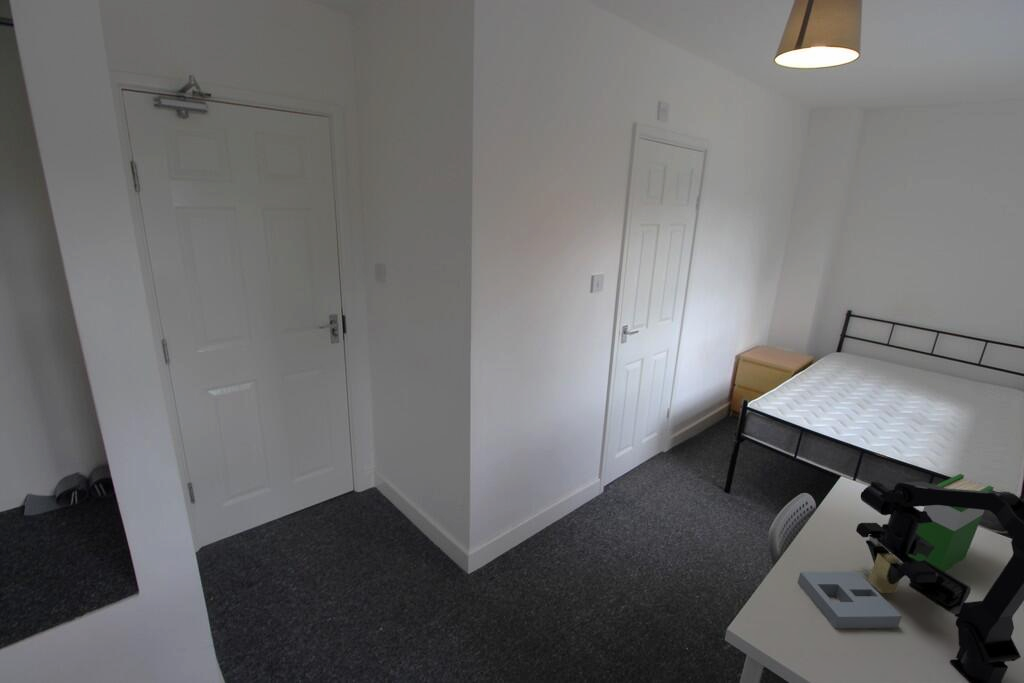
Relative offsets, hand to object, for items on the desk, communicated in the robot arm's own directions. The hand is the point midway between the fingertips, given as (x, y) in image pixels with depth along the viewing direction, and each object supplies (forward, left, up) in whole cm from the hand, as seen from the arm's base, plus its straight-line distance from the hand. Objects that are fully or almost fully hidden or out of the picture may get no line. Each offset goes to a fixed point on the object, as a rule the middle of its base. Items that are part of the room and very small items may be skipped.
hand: (884, 577), depth 123 cm
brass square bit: (0, 0, -3) cm, 3 cm away
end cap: (-1, -14, -5) cm, 15 cm away
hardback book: (+12, -27, -5) cm, 30 cm away
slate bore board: (-4, +13, -4) cm, 14 cm away
